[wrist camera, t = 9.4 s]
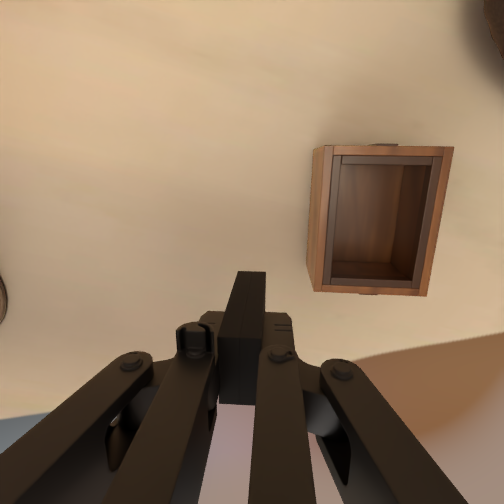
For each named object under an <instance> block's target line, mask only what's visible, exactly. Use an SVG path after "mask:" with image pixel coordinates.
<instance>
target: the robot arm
mask: <svg viewBox="0 0 504 504" xmlns="http://www.w3.org/2000/svg"><path fill="white" fill-rule="evenodd" d="M265 288H266V272H252V271H238V273H237V276H236V279H235V282H234V285H233V289H232V292H231V295H230V298H229V301H228V304H227V307H226V310H225V312H223V311H207V312H206V313H205V314H203V315H202V316H201V318H200V320H199V322H190V323H186V324H183V325H182V326H180V327H178V329H177V330H176V342H177V353H176V355H175V357H174V358H172V359H168V360H163V361H157V362H153V359H152V356H151V355H150V354H148V353H146V352H141V351H134V352H129V353H126V354H123V355H121V356H119V357H118V358H116V359H115V360H114V361H112V362H111V363H110V364H109V365H108V366H106V367H105V368H104V369H103V370H101V371H100V372H99V373H98V374H97V375H95V376H94V377H93V378H92V379H91V380H89V381H88V382H87V383H86V384H85V385H83V386H82V387H81V388H80V389H79V390H77V391H76V392H75V393H74V394H73V395H71V396H70V397H69V398H68V399H67V400H65V401H64V402H63V403H62V404H60V405H59V406H58V407H57V408H56V409H54V410H53V411H52V412H51V413H50V414H48V415H47V416H46V417H45V418H44V419H42V420H41V421H40V422H39V423H38V424H36V425H35V426H34V427H33V428H32V429H30V430H29V431H28V432H27V433H26V434H24V435H23V436H22V437H21V438H20V439H18V440H17V441H16V442H15V443H13V444H12V445H11V446H10V447H9V448H7V449H6V450H5V451H4V452H3V453H1V454H0V504H198V499H199V495H200V490H201V486H202V481H203V476H204V472H205V467H206V463H207V458H208V454H209V449H210V445H211V440H212V435H213V431H214V426H215V422H216V416H217V404H216V403H217V399H218V395H219V404H236V405H255V418H254V430H253V446H252V458H251V470H250V483H249V497H248V504H316V497H315V488H314V481H313V472H312V464H311V456H310V448H309V440H308V432H310V433H313V434H315V435H316V440H317V443H318V445H319V447H320V450H321V452H322V454H323V457H324V459H325V461H326V464H327V466H328V468H329V470H330V473H331V475H332V477H333V480H334V482H335V484H336V487H337V489H338V491H339V493H340V496H341V498H342V501H343V503H344V504H468V503H467V501H466V500H465V499H464V498H463V496H462V495H461V494H460V493H459V491H458V490H457V489H456V487H455V486H454V485H453V484H452V482H451V481H450V480H449V479H448V477H447V476H446V475H445V474H444V472H443V471H442V470H441V469H440V467H439V466H438V465H437V464H436V462H435V461H434V460H433V459H432V457H431V456H430V455H429V454H428V452H427V451H426V450H425V449H424V447H423V446H422V445H421V444H420V442H419V441H418V440H417V439H416V437H415V436H414V435H413V433H412V432H411V431H410V430H409V429H408V427H407V426H406V425H405V423H404V422H403V421H402V420H401V418H400V417H399V416H398V415H397V413H396V412H395V411H394V410H393V408H392V407H391V406H390V405H389V403H388V402H387V401H386V400H385V399H384V397H383V396H382V395H381V393H380V392H379V391H378V390H377V388H376V387H375V386H374V385H373V383H372V382H371V381H370V380H369V378H368V377H367V376H366V375H365V373H364V372H363V371H362V370H361V368H359V367H358V366H357V365H356V364H354V363H352V362H350V361H348V360H343V359H330V360H326V361H325V362H324V363H322V365H321V368H320V367H316V366H312V365H309V364H307V363H305V362H303V361H302V360H301V359H299V358H298V355H297V353H296V351H295V345H294V337H293V329H292V320H291V318H290V317H289V316H288V314H287V313H277V312H265ZM5 312H6V294H5V290H4V287H3V284H2V282H1V280H0V323H1V322H2V320H3V318H4V315H5ZM116 416H117V418H116V419H115V420H114V421H113V422H112V420H113V419H114V418H115V417H116ZM111 422H112V423H111ZM110 423H111V424H110Z"/></svg>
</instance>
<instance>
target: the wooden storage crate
mask: <svg viewBox="0 0 504 504" xmlns="http://www.w3.org/2000/svg"><path fill="white" fill-rule="evenodd" d="M453 151H454V147H441V146H398V144H373V145H368V146H336V145H334V146H333V145H325V146H322V147H319V148H317V149H314V150H313V164H312V179H311V195H310V210H309V225H308V240H307V256H306V265H307V269H308V273H309V276H310V280H311V283H312V287H313V291H314V292H321V291H322V292H337V293H359V294H363V295H378V294H383V295H405V296H427V291H428V285H429V280H430V275H431V269H432V264H433V259H434V253H435V248H436V242H437V237H438V232H439V226H440V221H441V215H442V210H443V205H444V199H445V194H446V189H447V183H448V178H449V172H450V167H451V162H452V156H453Z"/></svg>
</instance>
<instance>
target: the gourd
mask: <svg viewBox="0 0 504 504" xmlns="http://www.w3.org/2000/svg"><path fill="white" fill-rule="evenodd" d="M484 13H485V17H486V19H487V22H488V24H489V27H490V32H491V36H492V38H493V40H494V42H495V43H496V45H497V46H498V48H499V50H500V53H501V56H502V58H503V59H504V0H484Z"/></svg>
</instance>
